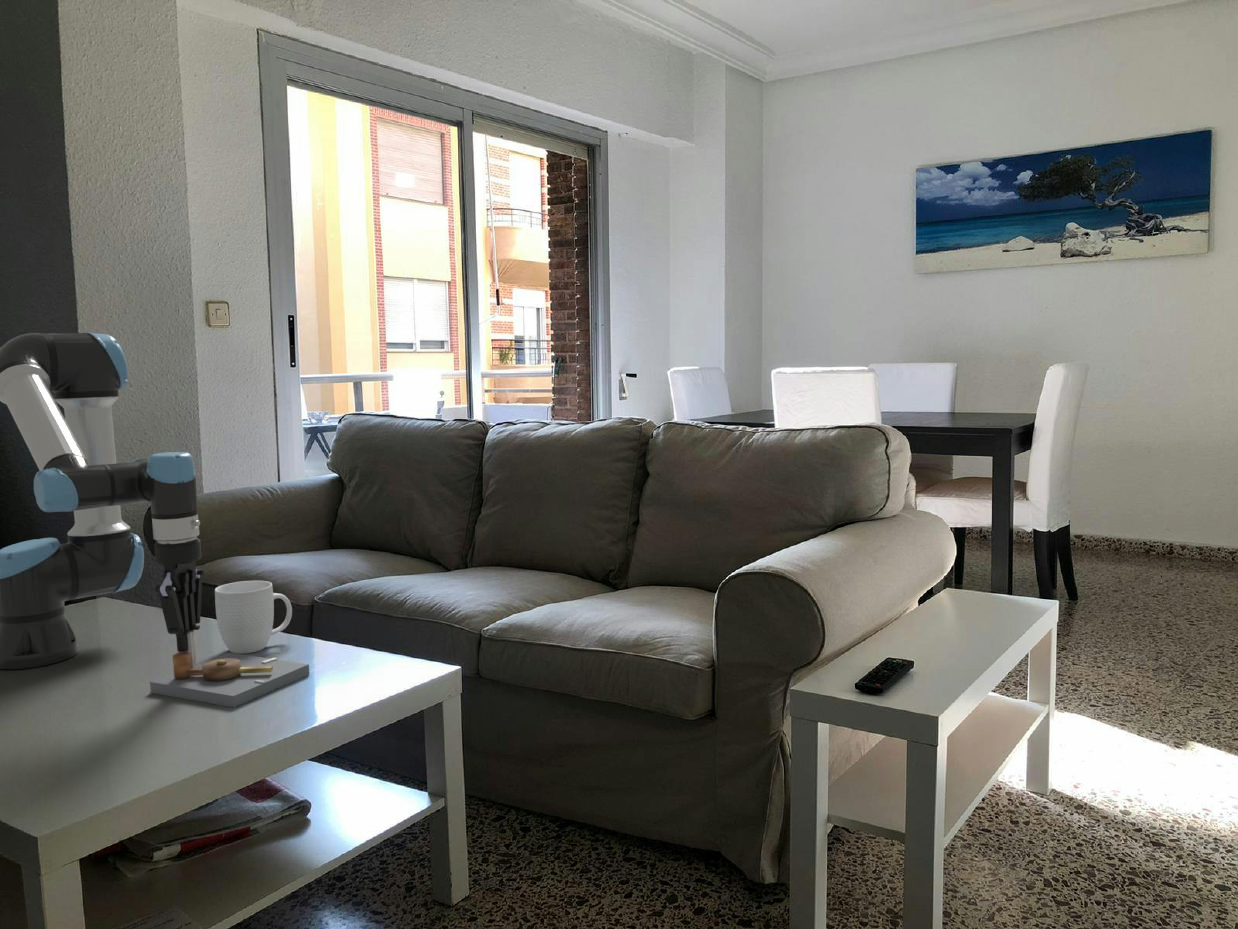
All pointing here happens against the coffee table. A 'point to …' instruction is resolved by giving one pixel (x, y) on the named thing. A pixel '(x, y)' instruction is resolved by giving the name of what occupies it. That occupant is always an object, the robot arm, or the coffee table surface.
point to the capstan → (213, 668)
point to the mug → (247, 615)
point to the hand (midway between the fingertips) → (187, 666)
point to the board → (232, 682)
